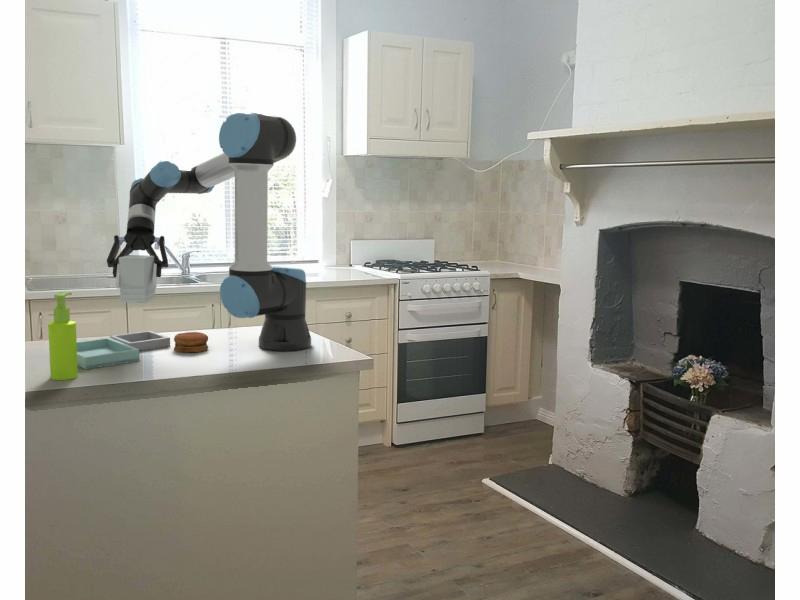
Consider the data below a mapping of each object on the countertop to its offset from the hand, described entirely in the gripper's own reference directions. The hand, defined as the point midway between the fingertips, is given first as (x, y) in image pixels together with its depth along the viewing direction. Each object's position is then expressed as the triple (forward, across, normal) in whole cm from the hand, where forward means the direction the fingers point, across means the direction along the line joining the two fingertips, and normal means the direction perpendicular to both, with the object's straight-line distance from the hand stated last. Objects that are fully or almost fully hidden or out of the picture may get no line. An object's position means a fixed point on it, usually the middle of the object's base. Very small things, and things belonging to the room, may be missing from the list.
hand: (136, 285), depth 198 cm
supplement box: (+1, 0, -6) cm, 6 cm away
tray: (+20, +9, -5) cm, 22 cm away
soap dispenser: (+32, +13, +7) cm, 36 cm away
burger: (+15, -14, -11) cm, 23 cm away
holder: (+10, 0, -15) cm, 18 cm away
